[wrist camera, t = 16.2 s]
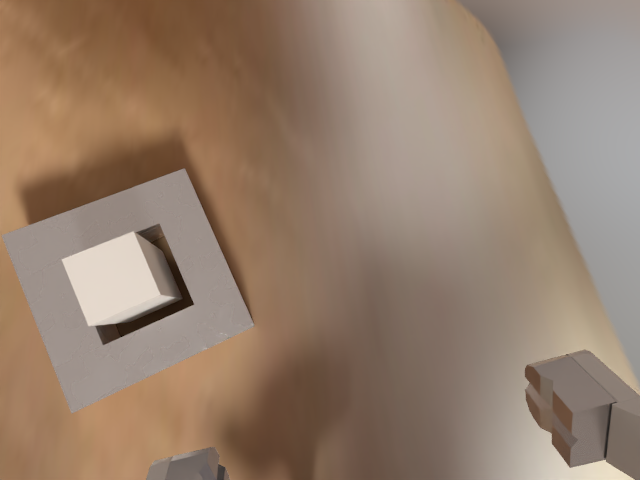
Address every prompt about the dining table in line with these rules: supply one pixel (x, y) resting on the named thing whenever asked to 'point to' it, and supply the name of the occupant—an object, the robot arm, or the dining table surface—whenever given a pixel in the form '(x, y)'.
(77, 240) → the grey square socket base
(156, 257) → the plug
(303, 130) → the dining table surface
